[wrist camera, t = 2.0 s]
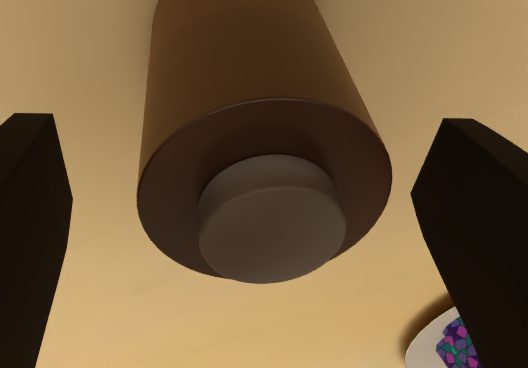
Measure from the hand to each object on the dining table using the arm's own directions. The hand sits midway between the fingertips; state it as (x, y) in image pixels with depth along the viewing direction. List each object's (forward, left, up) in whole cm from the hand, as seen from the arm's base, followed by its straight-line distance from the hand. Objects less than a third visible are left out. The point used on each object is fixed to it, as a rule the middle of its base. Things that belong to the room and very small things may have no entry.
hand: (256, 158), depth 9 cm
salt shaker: (0, 0, -5) cm, 5 cm away
